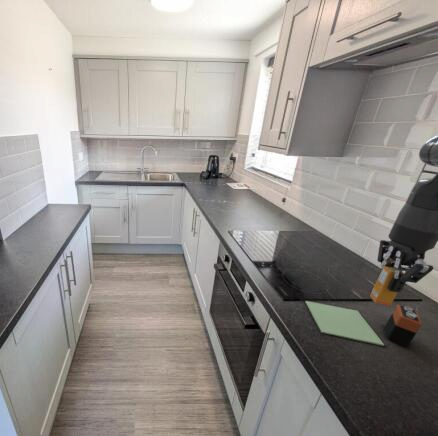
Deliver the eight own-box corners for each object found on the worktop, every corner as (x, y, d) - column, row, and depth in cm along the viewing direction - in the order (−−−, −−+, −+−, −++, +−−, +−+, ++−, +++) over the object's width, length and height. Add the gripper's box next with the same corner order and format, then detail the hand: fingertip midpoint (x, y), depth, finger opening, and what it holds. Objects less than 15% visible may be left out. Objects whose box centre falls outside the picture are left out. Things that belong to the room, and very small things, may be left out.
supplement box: (383, 298, 62) (400, 267, 58) (390, 307, 60) (408, 275, 55) (368, 294, 64) (383, 264, 60) (373, 303, 61) (390, 272, 57)
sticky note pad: (356, 311, 79) (357, 310, 79) (383, 346, 67) (384, 344, 67) (305, 301, 83) (305, 300, 83) (321, 332, 71) (321, 331, 70)
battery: (387, 339, 69) (402, 313, 65) (384, 325, 74) (398, 301, 70) (407, 347, 67) (424, 321, 63) (403, 333, 71) (418, 308, 68)
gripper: (469, 240, 46) (428, 308, 52) (414, 216, 59) (386, 273, 65) (423, 235, 48) (388, 301, 54) (379, 212, 60) (355, 268, 67)
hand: (387, 285), depth 59 cm, fingers closed on supplement box, 3 cm apart
